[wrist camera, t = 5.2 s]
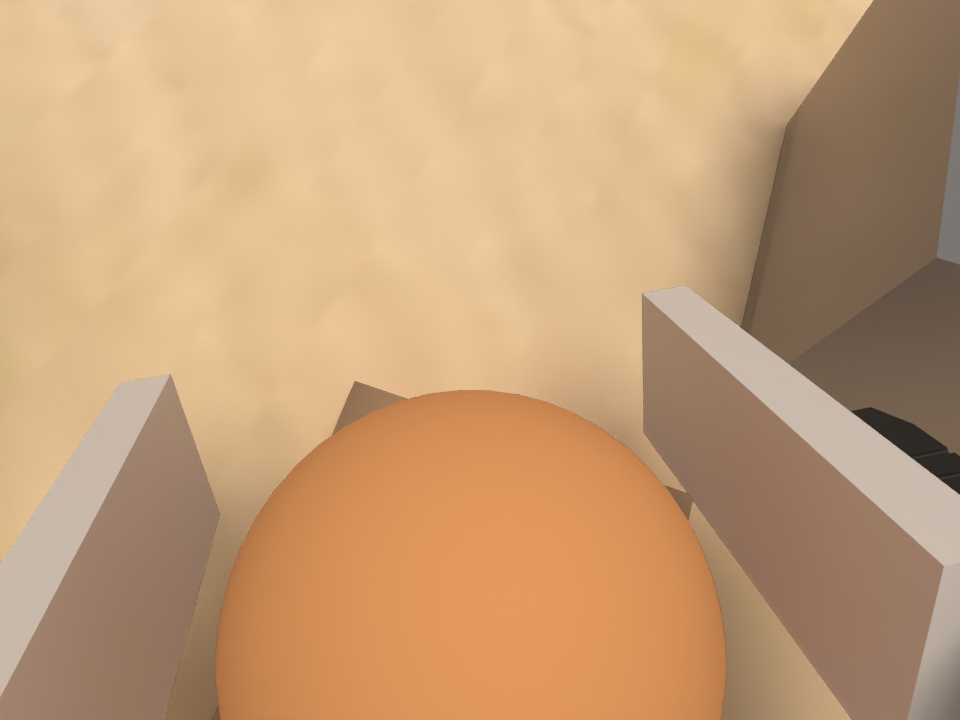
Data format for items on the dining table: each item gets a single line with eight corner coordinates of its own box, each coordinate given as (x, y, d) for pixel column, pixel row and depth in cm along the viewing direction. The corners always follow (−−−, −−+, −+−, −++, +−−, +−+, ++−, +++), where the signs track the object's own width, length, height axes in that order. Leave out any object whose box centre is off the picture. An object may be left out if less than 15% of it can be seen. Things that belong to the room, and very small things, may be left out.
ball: (221, 753, 9) (-35, 918, 4) (365, 401, 11) (295, 238, 6) (592, 897, 9) (762, 1254, 4) (683, 509, 10) (879, 428, 6)
